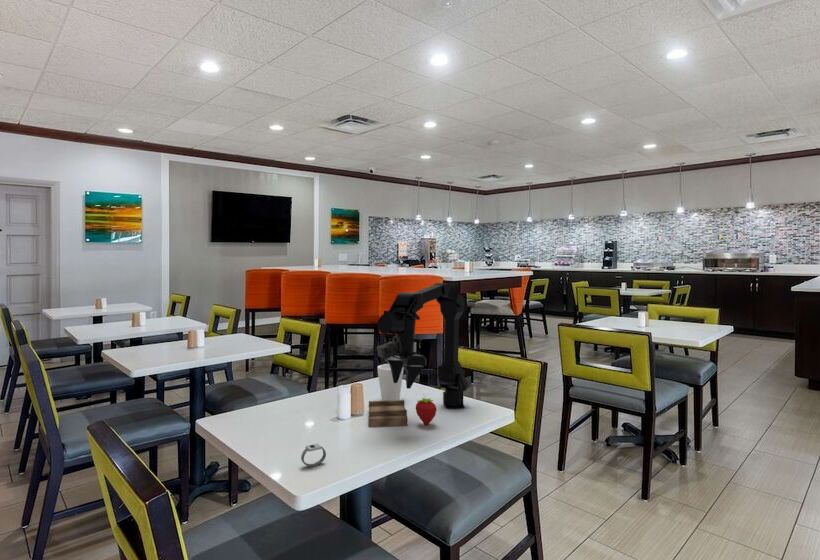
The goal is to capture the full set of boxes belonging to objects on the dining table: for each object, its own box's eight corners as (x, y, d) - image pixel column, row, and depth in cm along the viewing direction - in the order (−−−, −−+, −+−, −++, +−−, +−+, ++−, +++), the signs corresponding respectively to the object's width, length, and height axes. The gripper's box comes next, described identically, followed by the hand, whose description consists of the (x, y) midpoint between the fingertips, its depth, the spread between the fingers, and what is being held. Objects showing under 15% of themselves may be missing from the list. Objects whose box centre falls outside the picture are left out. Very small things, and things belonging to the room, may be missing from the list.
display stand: (403, 409, 164) (403, 397, 163) (407, 425, 148) (407, 412, 148) (368, 410, 163) (368, 399, 162) (369, 426, 147) (368, 414, 146)
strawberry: (426, 431, 143) (426, 398, 142) (411, 424, 149) (411, 392, 148) (441, 426, 146) (441, 394, 146) (425, 420, 152) (425, 389, 152)
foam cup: (406, 399, 176) (406, 364, 175) (400, 406, 167) (400, 370, 166) (381, 397, 178) (381, 363, 177) (374, 404, 169) (374, 368, 168)
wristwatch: (323, 460, 122) (323, 441, 122) (327, 464, 120) (327, 445, 120) (300, 466, 119) (299, 446, 119) (303, 470, 117) (303, 450, 117)
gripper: (369, 330, 149) (365, 380, 148) (394, 335, 132) (390, 391, 132) (401, 332, 154) (397, 380, 153) (429, 337, 137) (425, 391, 136)
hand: (401, 385), depth 143 cm, fingers open, 9 cm apart
